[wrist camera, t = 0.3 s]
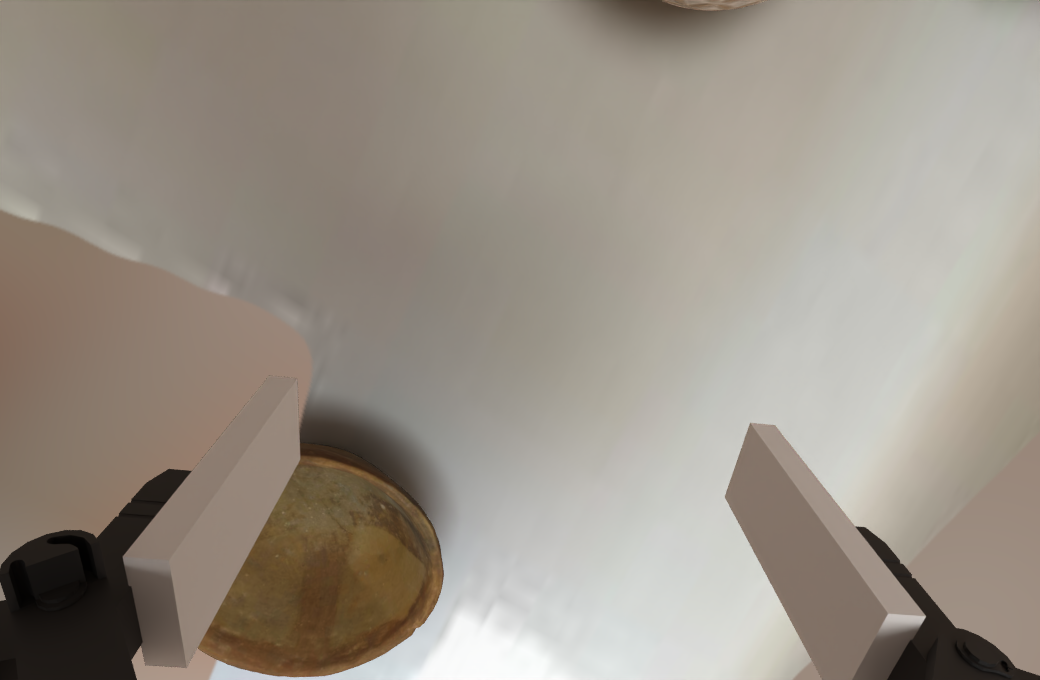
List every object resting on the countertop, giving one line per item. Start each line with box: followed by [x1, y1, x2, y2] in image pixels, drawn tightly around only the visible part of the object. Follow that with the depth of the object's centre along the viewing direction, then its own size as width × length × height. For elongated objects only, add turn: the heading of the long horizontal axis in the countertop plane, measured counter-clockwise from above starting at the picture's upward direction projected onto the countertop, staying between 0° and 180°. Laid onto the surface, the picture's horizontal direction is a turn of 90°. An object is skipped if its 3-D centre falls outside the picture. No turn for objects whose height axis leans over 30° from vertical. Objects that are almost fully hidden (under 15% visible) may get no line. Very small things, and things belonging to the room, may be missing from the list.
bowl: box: [198, 443, 444, 677], centre depth 47 cm, size 22×23×10 cm
